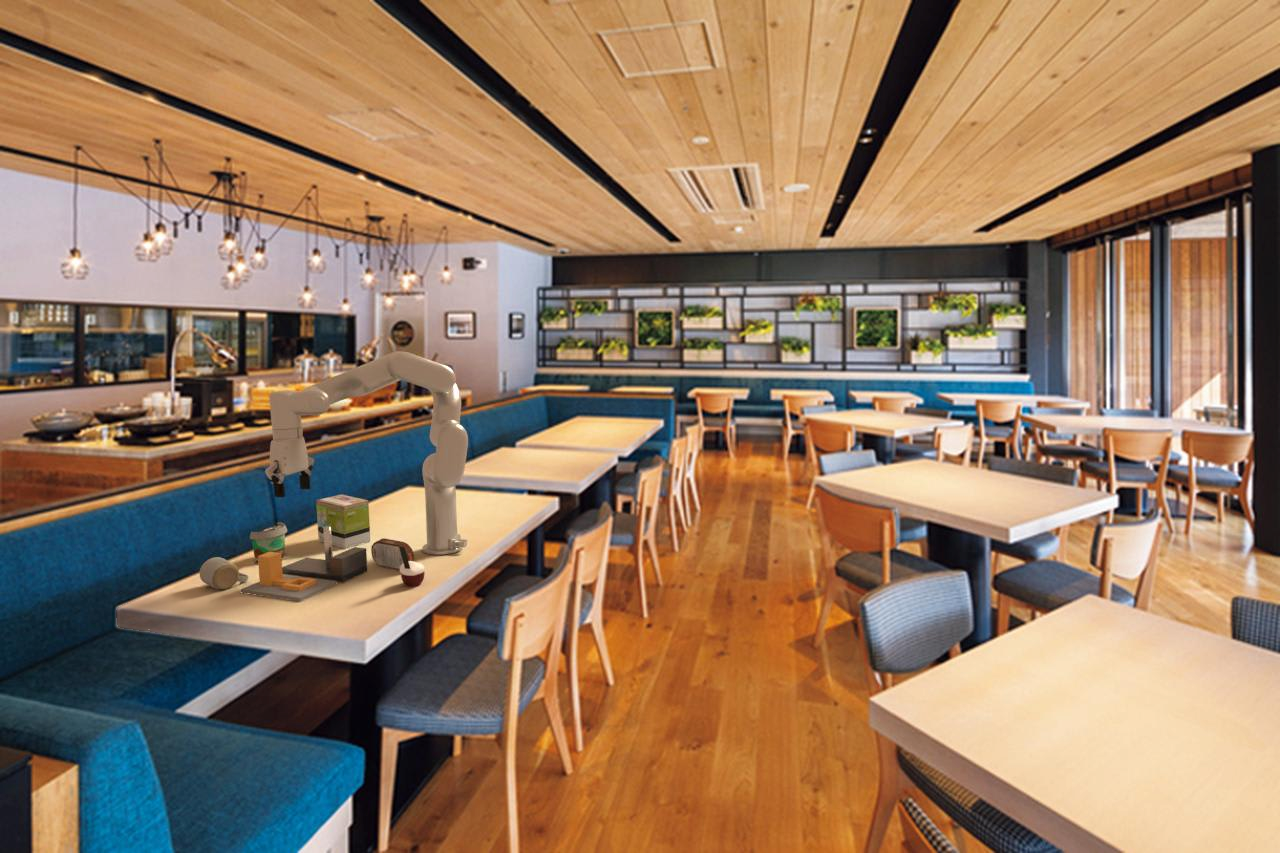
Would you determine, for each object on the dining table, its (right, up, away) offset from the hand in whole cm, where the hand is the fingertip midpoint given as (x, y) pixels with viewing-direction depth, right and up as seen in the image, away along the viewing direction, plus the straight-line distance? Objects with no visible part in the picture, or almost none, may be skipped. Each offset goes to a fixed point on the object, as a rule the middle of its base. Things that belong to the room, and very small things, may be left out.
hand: (293, 492), depth 195 cm
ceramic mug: (-15, -25, -7) cm, 30 cm away
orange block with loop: (+3, -24, -9) cm, 26 cm away
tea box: (0, -20, +33) cm, 39 cm away
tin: (+26, -23, +8) cm, 36 cm away
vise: (+8, -24, +3) cm, 25 cm away
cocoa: (+36, -25, -6) cm, 44 cm away
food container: (-14, -22, +16) cm, 30 cm away
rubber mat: (+4, -25, -9) cm, 27 cm away
